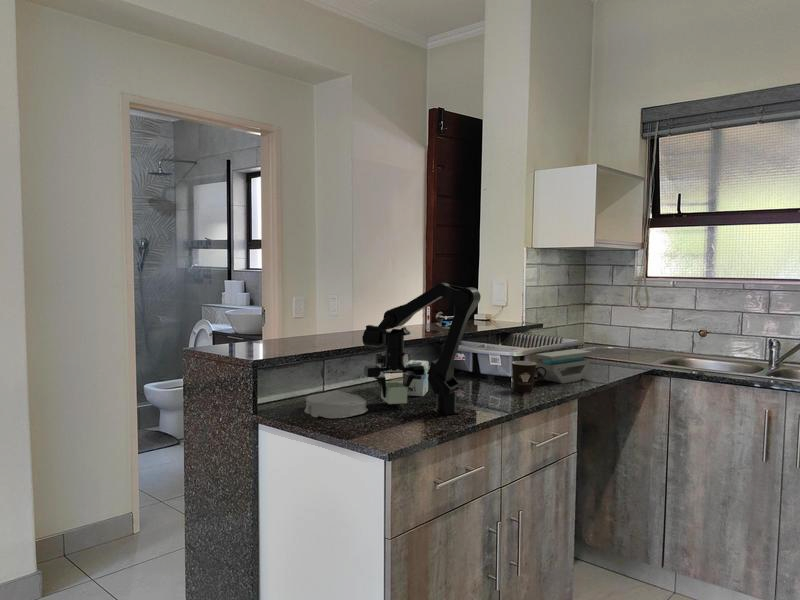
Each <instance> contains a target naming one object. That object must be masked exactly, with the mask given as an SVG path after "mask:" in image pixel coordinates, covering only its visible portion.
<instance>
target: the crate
mask: <svg viewBox="0 0 800 600" xmlns="http://www.w3.org/2000/svg"><path fill="white" fill-rule="evenodd" d="M407 389H408V387H407V386H405V385H403V382H400V381H387V382H386V396H385V398H384V397H383V395H382V391H381V390H380V398H381V400H383V401H384V402H385V403H387V404H388V405H396V404H408V395H407Z"/></svg>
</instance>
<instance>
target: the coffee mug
mask: <svg viewBox="0 0 800 600" xmlns="http://www.w3.org/2000/svg"><path fill="white" fill-rule="evenodd" d="M511 368H512V376H513V377H512V378H513V389H514V392H518V393H532V392H533V389H534V385H535V383H537V382H539V381H540V380H542V379H543V378H544V376H545V375H546V369H545V368H544V367H538V368H537V362H534V361H529V360H528V361H526V360H516V361H515V360H514V361H512V362H511ZM540 368H542V369H544V370H545V374H544V375H543V376H541V377H540V378H538V379H536V380H535V375H536V372H537V371H539V370H538V369H540Z"/></svg>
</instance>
